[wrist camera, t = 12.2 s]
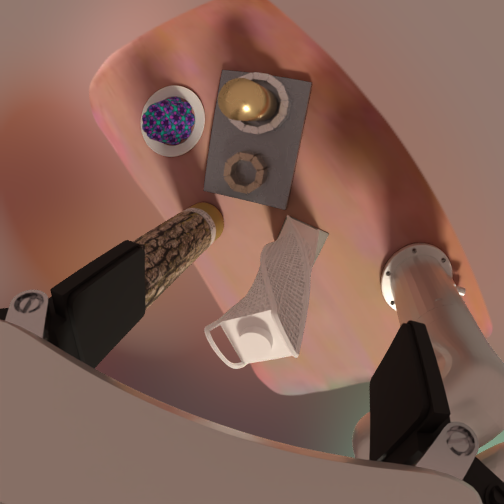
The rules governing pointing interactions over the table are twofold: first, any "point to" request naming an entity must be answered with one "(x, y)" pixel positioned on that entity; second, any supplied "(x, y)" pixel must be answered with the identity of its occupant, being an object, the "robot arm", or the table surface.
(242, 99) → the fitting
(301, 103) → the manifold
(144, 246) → the paper tube
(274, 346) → the skyscraper
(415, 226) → the table surface
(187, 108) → the pudding
